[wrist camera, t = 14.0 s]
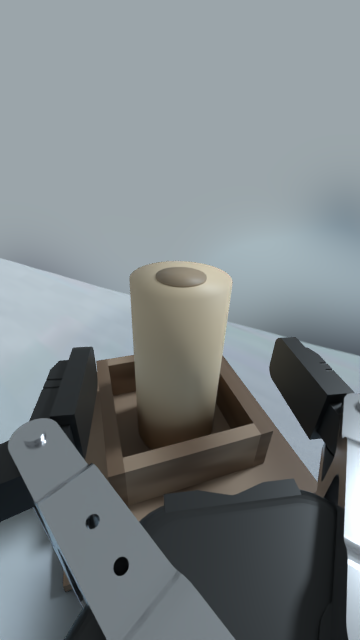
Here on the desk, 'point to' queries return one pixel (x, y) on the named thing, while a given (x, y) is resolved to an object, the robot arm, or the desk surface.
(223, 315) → the paper roll
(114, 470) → the roll stand
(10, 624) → the desk surface
